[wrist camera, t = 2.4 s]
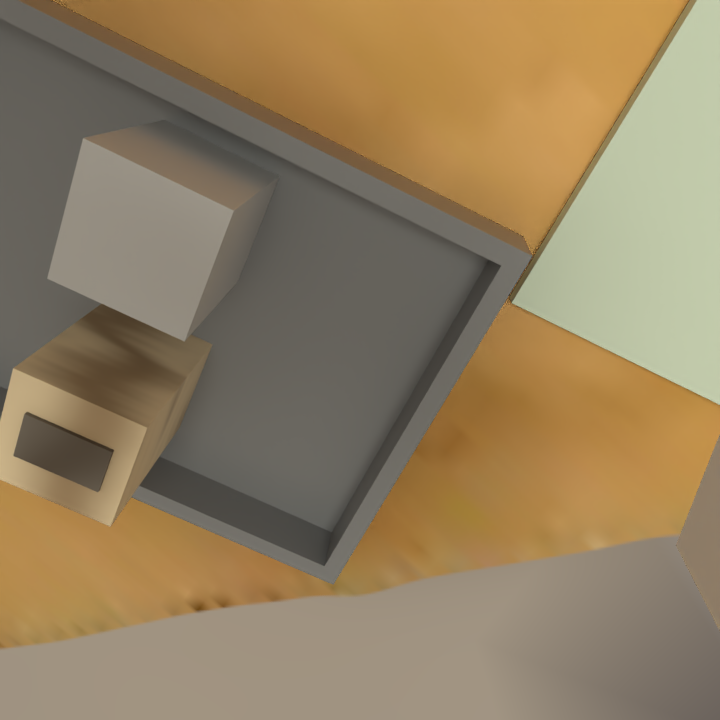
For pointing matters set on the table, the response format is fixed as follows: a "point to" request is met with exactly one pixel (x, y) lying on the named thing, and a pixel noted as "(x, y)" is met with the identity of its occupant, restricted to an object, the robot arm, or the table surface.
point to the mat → (648, 222)
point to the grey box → (159, 224)
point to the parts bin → (257, 293)
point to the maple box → (96, 411)
